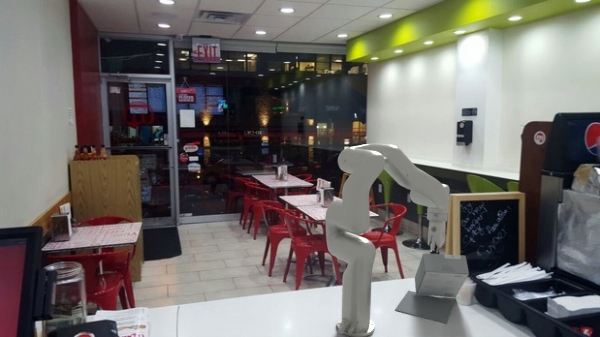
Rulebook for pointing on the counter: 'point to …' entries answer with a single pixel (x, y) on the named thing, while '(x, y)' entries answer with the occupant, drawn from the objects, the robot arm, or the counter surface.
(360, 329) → the robot arm
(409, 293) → the mat
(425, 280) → the hard drive box
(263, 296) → the counter surface
